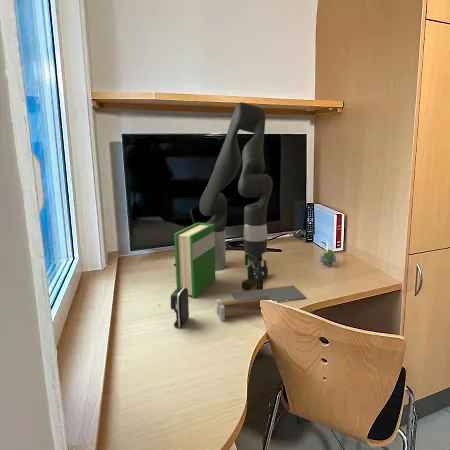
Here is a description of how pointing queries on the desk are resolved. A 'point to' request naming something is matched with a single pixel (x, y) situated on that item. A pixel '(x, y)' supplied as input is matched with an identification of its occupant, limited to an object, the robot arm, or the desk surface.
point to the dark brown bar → (251, 282)
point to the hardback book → (195, 258)
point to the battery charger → (180, 306)
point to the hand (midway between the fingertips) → (255, 284)
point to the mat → (273, 293)
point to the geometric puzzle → (328, 258)
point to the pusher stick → (239, 307)
